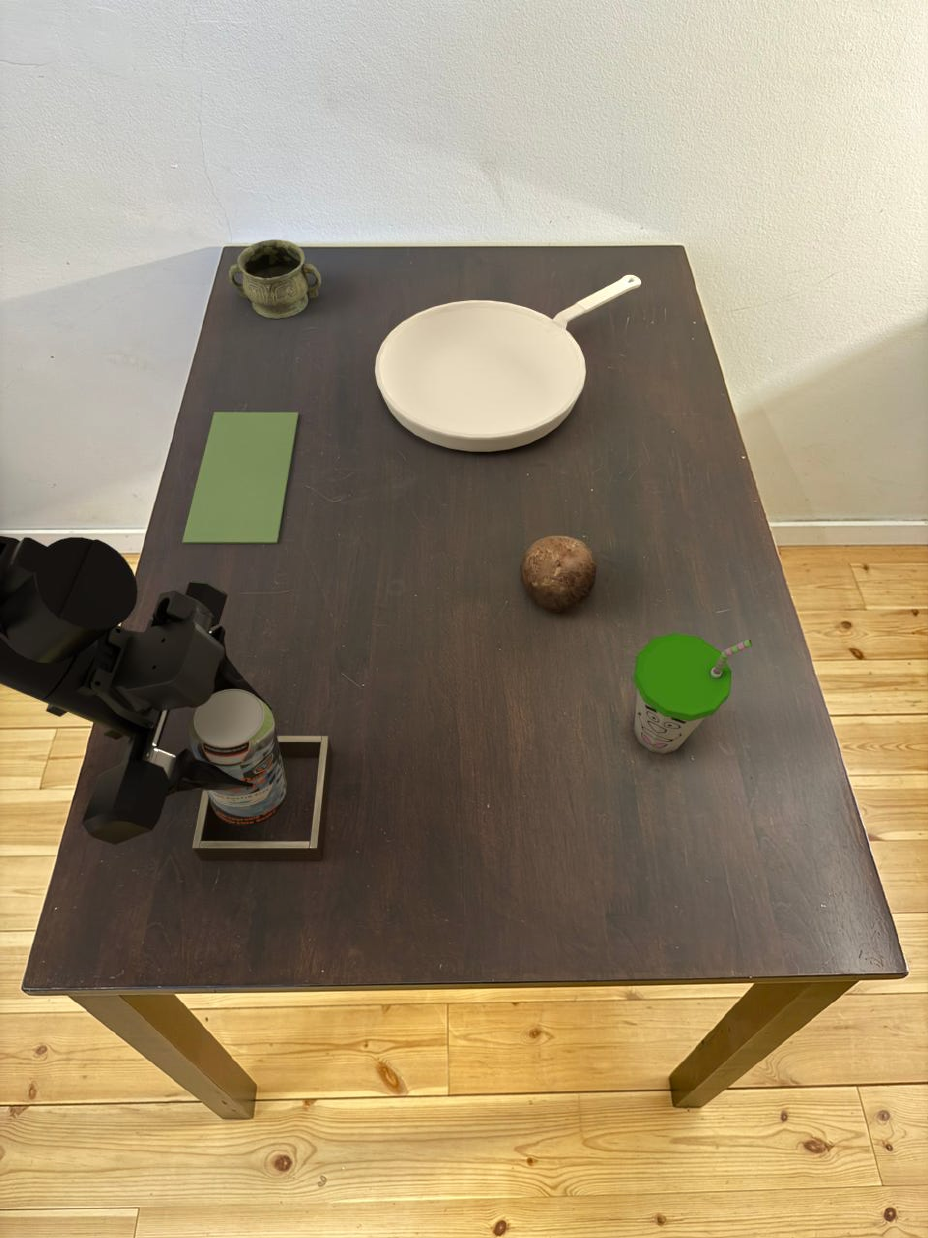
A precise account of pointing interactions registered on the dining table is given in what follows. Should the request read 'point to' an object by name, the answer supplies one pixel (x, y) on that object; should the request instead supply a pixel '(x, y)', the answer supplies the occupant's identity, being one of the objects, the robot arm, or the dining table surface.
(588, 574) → the mushroom
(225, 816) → the beverage can
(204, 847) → the frame
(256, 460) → the green mat
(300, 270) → the vessel
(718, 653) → the cup
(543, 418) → the pan
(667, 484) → the dining table surface
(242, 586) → the dining table surface
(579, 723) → the dining table surface
